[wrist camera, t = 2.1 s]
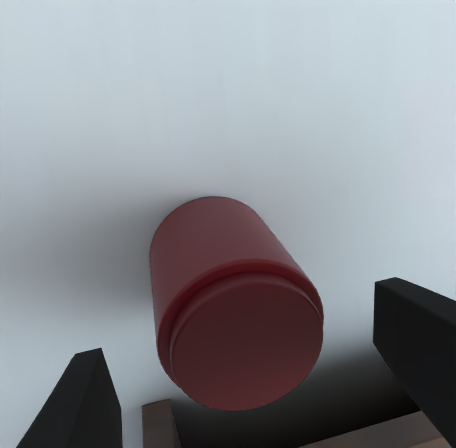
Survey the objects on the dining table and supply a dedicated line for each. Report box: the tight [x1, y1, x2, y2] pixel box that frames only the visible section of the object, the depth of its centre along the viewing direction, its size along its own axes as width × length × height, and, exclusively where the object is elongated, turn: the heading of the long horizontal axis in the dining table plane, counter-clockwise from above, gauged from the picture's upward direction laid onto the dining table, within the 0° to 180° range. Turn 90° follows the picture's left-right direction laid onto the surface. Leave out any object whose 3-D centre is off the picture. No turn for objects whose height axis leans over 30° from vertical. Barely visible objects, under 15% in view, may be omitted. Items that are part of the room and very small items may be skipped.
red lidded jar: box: [149, 197, 324, 411], centre depth 13 cm, size 5×5×6 cm
